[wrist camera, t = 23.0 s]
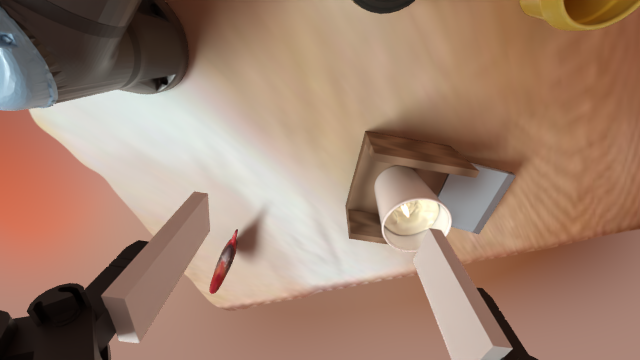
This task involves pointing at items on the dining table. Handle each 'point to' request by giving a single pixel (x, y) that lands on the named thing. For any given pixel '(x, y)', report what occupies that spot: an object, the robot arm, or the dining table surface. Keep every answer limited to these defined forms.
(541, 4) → the plant pot
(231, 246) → the decorative bird figurine
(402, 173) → the candle holder
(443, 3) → the dining table surface
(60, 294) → the robot arm
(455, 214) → the pale grey panel
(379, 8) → the coffee cup
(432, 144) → the small wooden shelf
